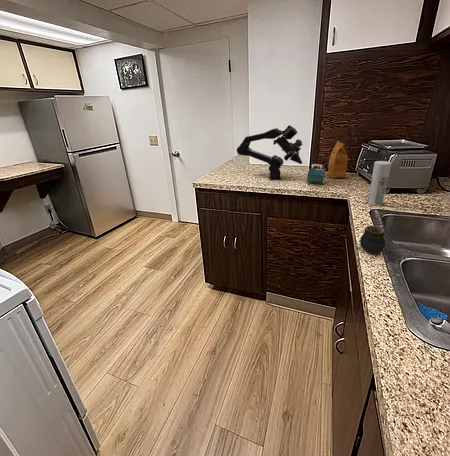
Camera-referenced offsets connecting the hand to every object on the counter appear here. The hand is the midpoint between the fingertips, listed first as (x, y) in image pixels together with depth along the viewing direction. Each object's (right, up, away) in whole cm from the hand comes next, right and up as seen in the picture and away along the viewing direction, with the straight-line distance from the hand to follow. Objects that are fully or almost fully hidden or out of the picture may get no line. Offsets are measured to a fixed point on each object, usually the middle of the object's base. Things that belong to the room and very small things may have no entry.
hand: (301, 163), depth 152 cm
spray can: (+25, -25, -33) cm, 48 cm away
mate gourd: (+2, -41, -68) cm, 80 cm away
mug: (+9, -12, 0) cm, 15 cm away
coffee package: (+26, -7, +10) cm, 28 cm away
